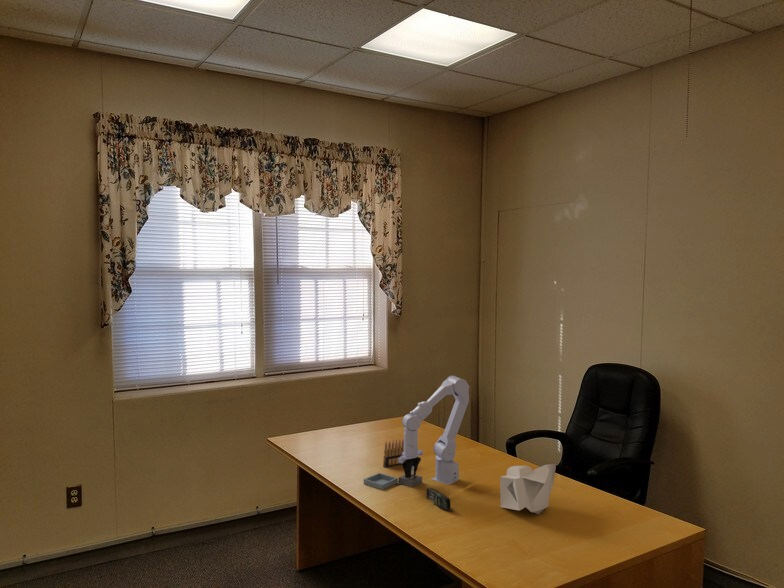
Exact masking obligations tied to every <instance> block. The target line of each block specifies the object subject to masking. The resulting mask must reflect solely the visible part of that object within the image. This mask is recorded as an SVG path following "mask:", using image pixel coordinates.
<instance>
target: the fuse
mask: <svg viewBox="0 0 784 588" xmlns="http://www.w3.org/2000/svg"><path fill="white" fill-rule="evenodd" d="M407 478H408V477H407ZM408 479H414V466H413V465H412V469H411V477H410V478H408Z"/></svg>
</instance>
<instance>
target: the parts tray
mask: <svg viewBox="0 0 784 588" xmlns="http://www.w3.org/2000/svg"><path fill="white" fill-rule="evenodd" d="M397 484H399V477H395V476H391V475H388V474H385V473H381V472H378V473H376V474H373V475H370V476H368V477H366V478H363V485H365V486H369V487H371V488H375V489H378V490H381V491H383V490H386V489H387V488H389V487H392V486H394V485H397Z"/></svg>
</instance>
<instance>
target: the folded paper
mask: <svg viewBox="0 0 784 588" xmlns="http://www.w3.org/2000/svg"><path fill="white" fill-rule="evenodd" d="M556 467H557V464H556V463H548V464H544V465H541V466H540V467H537V468H534V469H533V468H531V467H530V466H529V465H513V466H510V467H508V468H507V470H506V475H502V476H500V477H499V483H500V485H499V486H500V490H499V491H500V495H499V496H500V508H503V509H509V510H515V511H521V510H523V509H524V508H526V509H527V511H529V512H531V513H534V514H536V515H537V516H539V515H540V514H541V513H542V512H543V511H544V510H545V509H547V508H549V500H550V496H551V494H552V493H551V492H552V489H553V486H554V480H555V477H556V476H555V475H556V474H555V473H556Z"/></svg>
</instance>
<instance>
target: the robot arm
mask: <svg viewBox="0 0 784 588" xmlns="http://www.w3.org/2000/svg"><path fill="white" fill-rule="evenodd" d="M469 389H470V385H469V384H468V382H467V380H466V379H463V378H461V377H457V375H449V376H447V378H446V379H445V380H444V381H442V383H441V385H440V386H439V387H438V388H437V390H436V391H434V393H432V395H431V396H430V397H429V398H427V400H426V401H425V400H424V401H421V402H417V406H416V407H415V408H414V409H412V410H411V411H409V413H408V414H405V415H404V416H403V417H402V418H403V419H402V420H401V424H402V426H403V439H404V452H402V456H401V457H399V458H398V463H401V464H402V465H401V466H402V468H403V472H404V475H405V476H406V477H408V478H410V477H411V469H412V465H413V466H414V476H415V475H417V470H418V467H419V464H420V463H421V461H422V458H421V457H419V456H423V454H424V451H423V450H422V449H418V444H419V443H418V441H419V440H418V438H419V433H418V432H419V431H418V429H420V427H421V423H422V422H423V421H424V420H425V419H426V418H427V417H428V416H429V415H430V414H431V413H432V411H433V407H434V406H435V405H437V403H439V402H441V400H442V399H444V398H445V397H446V396H451V395H453V397H454V400H455V402H454V404H453V406H452V409H451V411H450V415H449V416H448V417H449V418H448V419H447V422H446V425H445V428H444V431H443V434H441V435H440V436H439V438H438V440H436V442H435V443H434V445H433V448H432V449H433V452H434V454H435V476H434V477H432V478H431V480H432V481H436V482H438V483H442V484H446V485H451V484H454V483H456V482H458V481H459V480H460V477H459V475H460V472H459V471H460V469H459V468H460V467H459V463H458V462H457V461H455V460H454V458H455V456H456V448H457V443H456V438H457V435H458V432H459V430H460V427H461V424H462V422H463V419H464V416H465V413H466V410H467V409H468V408H467V407H468V405H469V403H470V393H469V392H470V391H469Z"/></svg>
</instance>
